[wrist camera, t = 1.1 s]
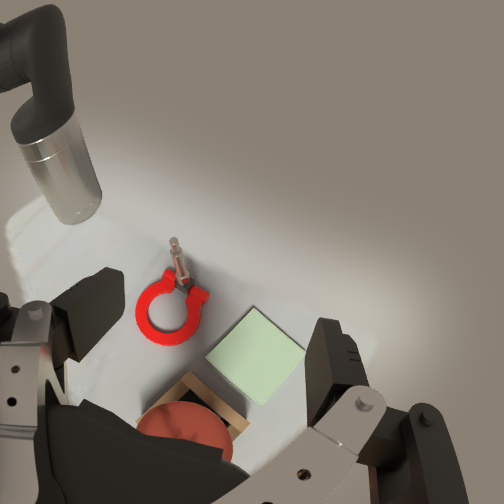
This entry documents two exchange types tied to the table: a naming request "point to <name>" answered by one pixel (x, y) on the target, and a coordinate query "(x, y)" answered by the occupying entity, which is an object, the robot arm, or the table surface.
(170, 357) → the table surface
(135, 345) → the table surface
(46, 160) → the robot arm
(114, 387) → the table surface
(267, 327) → the sage mat
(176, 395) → the brown square frame
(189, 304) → the tow hook
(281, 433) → the table surface
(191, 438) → the steel peg
